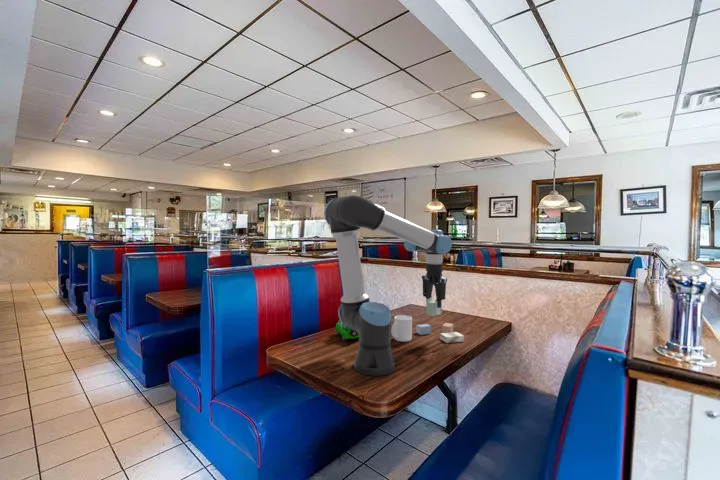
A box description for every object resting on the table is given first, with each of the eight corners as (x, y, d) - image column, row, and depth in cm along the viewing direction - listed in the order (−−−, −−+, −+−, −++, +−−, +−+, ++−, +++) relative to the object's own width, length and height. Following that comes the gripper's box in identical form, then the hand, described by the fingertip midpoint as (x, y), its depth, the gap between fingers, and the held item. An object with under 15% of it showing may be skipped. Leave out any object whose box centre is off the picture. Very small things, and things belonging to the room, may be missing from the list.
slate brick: (421, 335, 169) (421, 327, 169) (416, 332, 173) (416, 325, 173) (431, 333, 172) (431, 325, 171) (426, 331, 175) (426, 323, 175)
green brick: (432, 316, 157) (433, 303, 156) (426, 314, 160) (426, 301, 160) (441, 314, 160) (441, 301, 160) (434, 312, 164) (435, 299, 163)
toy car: (350, 332, 173) (350, 312, 172) (363, 342, 157) (363, 321, 156) (334, 333, 170) (334, 313, 169) (345, 344, 154) (345, 322, 153)
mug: (397, 344, 154) (398, 322, 154) (384, 340, 160) (385, 318, 160) (415, 339, 162) (415, 317, 162) (402, 335, 168) (402, 314, 168)
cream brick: (446, 343, 158) (446, 337, 158) (440, 339, 163) (440, 333, 163) (463, 342, 160) (464, 335, 160) (456, 338, 166) (457, 332, 166)
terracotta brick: (450, 334, 170) (450, 326, 170) (442, 333, 172) (442, 325, 172) (453, 331, 176) (453, 323, 175) (445, 330, 177) (445, 322, 177)
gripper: (454, 264, 154) (453, 316, 155) (425, 261, 168) (425, 308, 169) (443, 265, 150) (442, 318, 151) (415, 262, 163) (414, 310, 164)
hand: (433, 313), depth 160 cm, fingers closed on green brick, 4 cm apart
